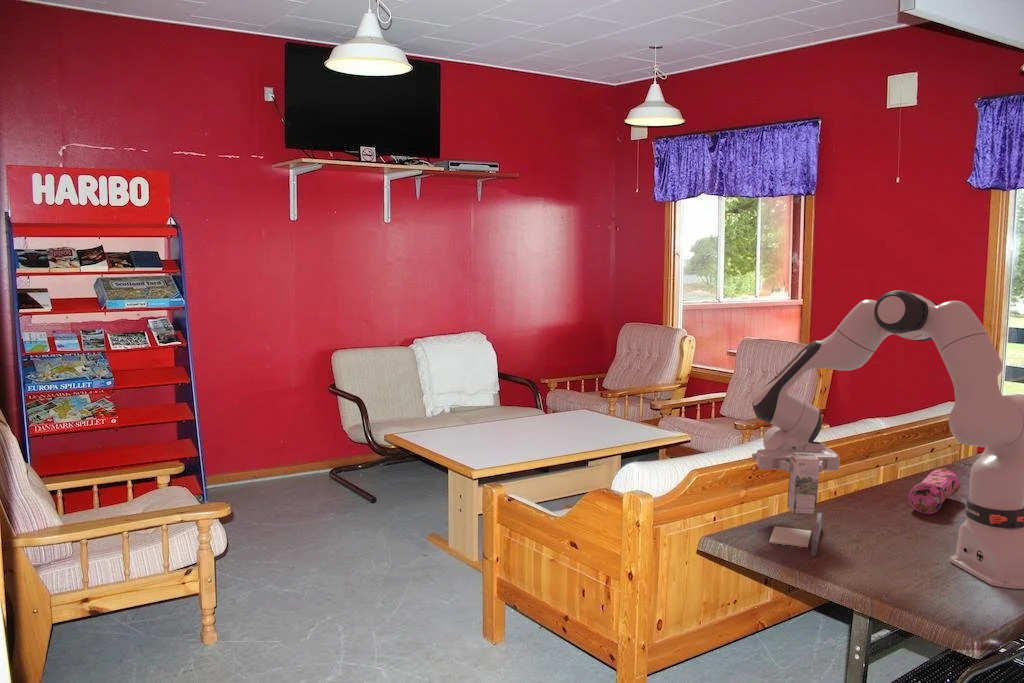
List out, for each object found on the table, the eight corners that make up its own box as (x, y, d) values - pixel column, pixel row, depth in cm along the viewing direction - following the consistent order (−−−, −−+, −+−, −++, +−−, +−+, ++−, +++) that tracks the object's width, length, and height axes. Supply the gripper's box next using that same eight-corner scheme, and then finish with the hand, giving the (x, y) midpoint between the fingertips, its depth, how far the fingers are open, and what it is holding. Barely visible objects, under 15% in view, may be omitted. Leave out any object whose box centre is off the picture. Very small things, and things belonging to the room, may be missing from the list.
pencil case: (942, 518, 233) (944, 486, 231) (906, 511, 238) (907, 480, 237) (960, 499, 249) (962, 469, 248) (925, 493, 255) (927, 464, 254)
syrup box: (810, 507, 219) (813, 451, 216) (816, 515, 213) (820, 458, 210) (786, 506, 219) (790, 451, 217) (792, 515, 213) (796, 458, 211)
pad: (811, 533, 221) (811, 530, 221) (807, 548, 210) (807, 545, 210) (774, 528, 224) (774, 526, 224) (769, 543, 213) (769, 541, 213)
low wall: (821, 528, 224) (822, 513, 224) (815, 556, 204) (816, 540, 204) (817, 527, 225) (818, 512, 224) (811, 555, 205) (811, 539, 204)
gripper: (750, 441, 227) (762, 455, 213) (830, 442, 226) (847, 456, 212) (749, 465, 228) (761, 480, 214) (829, 466, 227) (846, 481, 213)
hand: (805, 468), depth 213 cm, fingers closed on syrup box, 6 cm apart
